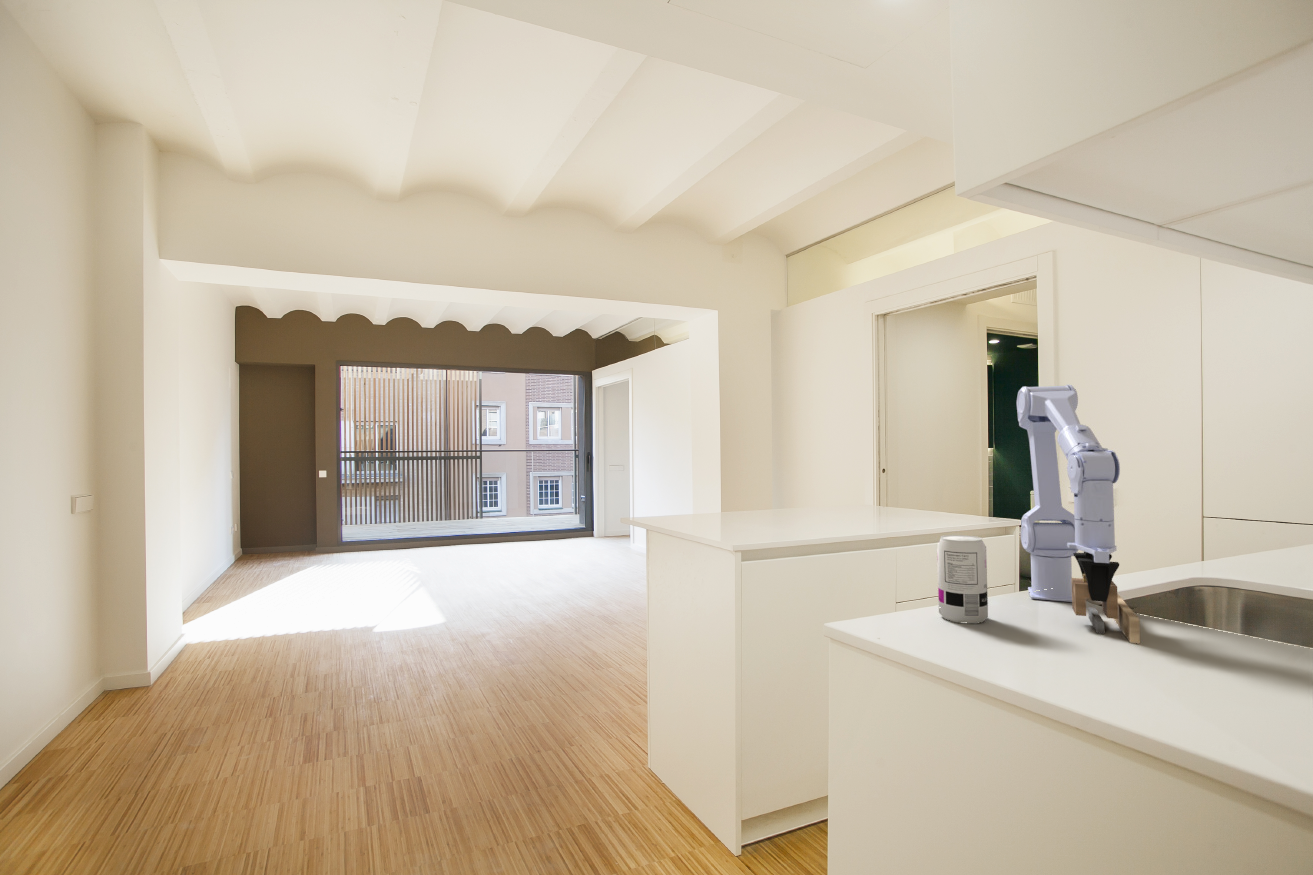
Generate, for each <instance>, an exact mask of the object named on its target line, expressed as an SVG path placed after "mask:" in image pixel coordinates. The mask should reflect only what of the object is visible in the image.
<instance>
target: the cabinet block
mask: <svg viewBox="0 0 1313 875" xmlns="http://www.w3.org/2000/svg"><path fill="white" fill-rule="evenodd" d="M1071 581H1072V602H1071V603H1072V604H1071V606H1072V610H1073V612H1074V614H1075V616H1081V617H1087V600H1091V597H1090V594H1089V589H1088V584H1087V579H1086V576H1085V574H1083V577H1082V578H1080V577H1078V578H1076V577H1072V578H1071ZM1117 594H1118V586H1117V584H1116V583H1114V581H1113V580H1112V581H1111V585H1110V590H1109V595H1108V599H1107V601H1106V602H1101V606H1102V613H1103V614H1104V615H1105V616H1106V618H1107V619H1113V620H1114V619H1118V595H1119V594H1118V595H1117Z"/></svg>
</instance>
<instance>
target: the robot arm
mask: <svg viewBox="0 0 1313 875" xmlns="http://www.w3.org/2000/svg"><path fill="white" fill-rule="evenodd" d="M1078 404H1079V395H1078V391H1077V390H1076V388H1075V387H1074V386H1073V385H1072V384H1066V385H1053V386H1052V385H1051V386H1050V385H1049V386H1046V385H1045V386H1026V385H1025V386H1022V387H1021V388H1020V389H1019V390H1018V392H1017V397H1016V410H1017V411H1016V412H1017V421H1018V426H1019V427H1020V428H1022V429H1024V430H1026V431H1027V437H1028V442H1029V451H1030V453H1029V454H1030V462H1031V464H1030V465H1031V475H1032V486H1033V497H1034V507H1032V508H1031V509H1030V510H1028V511H1026V513H1024V514H1023V515H1022V517H1021V521H1020V522H1021V523H1020V524H1021V526H1020V527H1021V528H1020V542H1021V546H1022V548H1023V549H1024V550H1025V551H1026V552H1027V553H1028V554H1030V577H1031V586H1028V587H1027V590H1028V594H1029V597H1030V599H1031V600H1032V599H1033V600H1044V601H1055V602H1066V603H1067V602H1068V603H1069V602H1070V603H1072V581H1071V578H1073V572H1072V571H1073V570H1072V557H1074V558H1075V559H1076V560H1075V561H1077V564H1078V566H1079V568H1080V572H1081V577H1082V578H1083V574H1085V576H1086V579H1087V584H1088V589H1089V594H1090V597H1091V599H1090V600H1091V601H1093V602H1101V603H1102V602H1106V601H1107V599H1108V595H1109V590H1110V585H1111V581H1113V578H1114V575H1115V574H1116V572H1117V570H1118V569H1119V566H1120V562H1118V561H1111V559H1112V558H1113V555H1112V554H1113V553H1115V552H1116V551H1117V545H1116V541H1115V540H1116V536H1115V504H1114V501H1115V498H1114V497H1115V496H1114V484H1116V483H1118V480H1119V477H1120V474H1121V467H1120V461H1119V460H1120V459H1119V458H1118V455H1117V453H1116V452H1115V451H1114V450H1112V449H1108V448H1106V447H1105V448H1104V447H1102V445H1101V443H1100V442H1099V440H1098V438H1097V436H1096V435H1095V433H1093V431H1092V429H1091V428H1090V427H1089V426H1087V425H1086V424H1085V425H1084V424H1081V422H1080V420H1079V417H1078V415H1077V413H1076V411H1077V408H1078ZM1056 431H1058V435H1057V441H1056ZM1057 443H1058V445H1059V448H1060V449H1061V451H1062V452H1063V454H1064V457H1065V458H1066V460H1067V466H1066V471H1067V475H1068V476H1067V477H1068V480H1069V485H1070V487H1069V488H1070V491H1071V493H1072V494H1073V509H1074V510H1073V511H1074V512H1073V513H1072V512H1071V511H1069V510H1068V509H1066V508H1064V507H1063V504H1062V493H1061V485H1060V484H1061V483H1060V473H1059V472H1060V471H1059V463H1058V453H1057ZM1036 521H1038V522H1036ZM1039 521H1040V522H1039ZM1041 521H1042V522H1041ZM1047 521H1050V522H1047ZM1054 521H1055V522H1054ZM1079 551H1081V552H1079ZM1051 588H1053V589H1051ZM1044 589H1047V590H1044ZM1036 590H1040V591H1036ZM1034 591H1036V592H1034ZM1029 592H1030V593H1029Z"/></svg>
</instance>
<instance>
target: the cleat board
mask: <svg viewBox="0 0 1313 875" xmlns="http://www.w3.org/2000/svg"><path fill="white" fill-rule="evenodd" d="M1117 595H1118V619H1113V620H1114V622H1115V621H1116V622H1115V623H1116V625H1117V624H1118V625H1117V626H1118V627H1119V629H1120V628H1121V629H1120V631H1121V632H1122V631H1123V632H1122V633H1123V635H1124V636H1125V637H1126V639H1127V638H1128V639H1127V640H1128V641H1129V643H1130V644H1136V643H1137V644H1138V645H1140V644H1141V638H1140V637H1141V635H1140V634H1141V632H1140V618H1139V617H1138V616H1137V614H1136V613H1135V612H1134V611H1133V610H1132V608H1130V606H1129V605H1128V604H1127V603H1126V601H1124V600H1123V598H1122V597H1121V596H1120V595H1119V593H1117ZM1087 610H1088V611H1087V612H1088V619H1089V622H1090V623H1091V625H1092V626H1094V627H1093V628H1094V630H1095V632H1096V633H1097V634H1103V635H1104V634H1105V621H1104V620H1103V618H1102V617H1101V615H1100V613H1099V612H1098V610H1097V609H1096V607H1092V606H1088V608H1087Z"/></svg>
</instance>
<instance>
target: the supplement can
mask: <svg viewBox="0 0 1313 875" xmlns="http://www.w3.org/2000/svg"><path fill="white" fill-rule="evenodd" d="M936 548H937V551H936V552H937V553H936V554H937V556H936V557H937V584H938V586H937V589H938V590H937V591H938V592H937V594H938V613H939V615H940V616H941V617H942V616H943V617H942V618H943V619H944V618H945V619H944V620H946V619H947V620H946V621H949V620H950V621H949V622H953V623H958V622H967V623H975V624H979V623H978V622H981V623H984V622H985V620H987V619H988V617H989V605H988V604H989V603H988V601H989V600H988V571H987V570H988V566H987V563H988V562H987V546H986V545H985V543H984V541H983V537H979V536H975V535H965V534H964V535H963V534H949V535H948V534H946V535H941V536H940V539H939V541H938V543H937V544H936ZM939 607H941V608H939ZM983 621H984V622H983ZM967 623H966V624H967Z"/></svg>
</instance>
